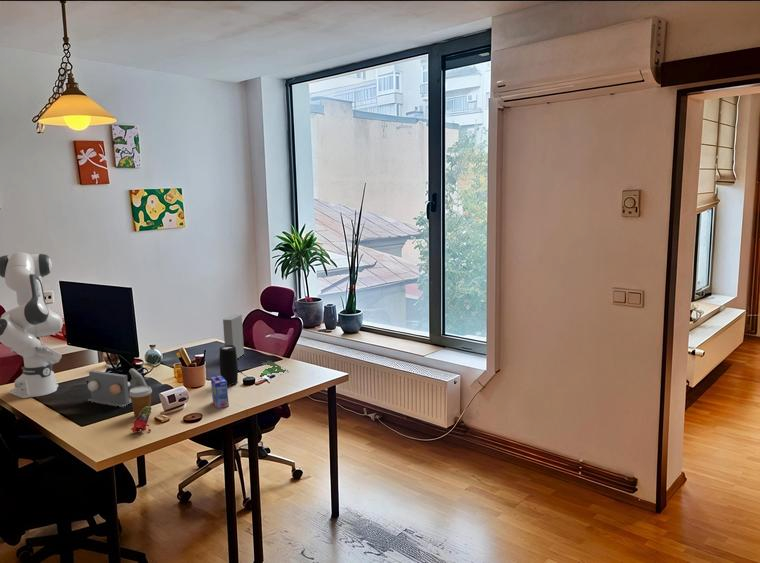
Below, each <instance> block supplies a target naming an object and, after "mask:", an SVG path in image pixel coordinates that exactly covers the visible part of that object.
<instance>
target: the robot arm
mask: <svg viewBox="0 0 760 563" xmlns="http://www.w3.org/2000/svg"><path fill="white" fill-rule="evenodd" d="M52 269H53V262H52V260H51V257H50V256H49V255H48V254H44V253H39V254H35V253H27V252H23V251H18V252H14V253H12V254H11V255H8V254H6V255H1V256H0V277H1V278H4V282H5V283H4V284H5V285H6V286H7V287H8V288H9V289H10V290H12V291H14V292H16V302H17V305H18V306H17V307H14V308H12V309H9V310H8V311H5V312H4V313H2V314H1V315H0V343H1V344H3V346H6V347H7V348H10V352H12V354H16V355H19V356H21V357H22V358H23V359H22V360H23V365H24V366H21V367H20V368H21V370H22V374H20V376H18V377H17V378H16V379H15V380H14V388H13V389H11V390H9V392H8V393H9V394H10V395H14V396H15V397H18V398H20V399H27V398H34V397H35V398H36V397H42V396H47V395H49V394H52V393H55V392H56V391H57V390H58V387H59V384H58V383H57V380H56V376H55V372H54V371H53V365H55V364H59V362H60V361H61V360H62V357H63V356H62V354H61V353H59V352H58V351H56V350H54V349H53V348H50V347H48V346H47V345H46V344H42V342H41V340H40V339H39V338H40V337H46V336H51V335H54V334H57V333H59V332H60V331H61V330H62V328H63V324H64V321H63V318H62V316H60V315H59V314H58V313H57V312H54V311H52V310H51V309H50V308H49V307H48V305H47V303H46V299H45V297H46V296H45V292H44V285H43V280H42V278H44V277H45V276H48V275H49V274H50V273H52V272H51V271H52Z"/></svg>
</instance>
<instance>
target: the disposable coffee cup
mask: <svg viewBox="0 0 760 563" xmlns="http://www.w3.org/2000/svg"><path fill="white" fill-rule="evenodd" d="M152 392H153V389H152V387H151V386H148V385H147V386H139V387H135V388H132V389H131V390H130V391H129V397H130V398H131V402H132V404H131V406H132V411H133V414H134V418H135V419H136V418H137V417H138V416H139V414H140V412H141V410H142V409H143V408H144V407H146V406H149V407H151V404H152ZM151 408H152V407H151Z"/></svg>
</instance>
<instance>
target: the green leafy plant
mask: <svg viewBox="0 0 760 563" xmlns="http://www.w3.org/2000/svg"><path fill="white" fill-rule="evenodd" d="M266 361H267V362H263V361H262V362H263V363H261V364H263V365H266V364H267V365H270V366H273V367H272V368H268V369H265V370H264V371H263V373H261V375H260V377H262V376H264V375H267V374H272V373H279V372H283V373H284V372H285V371H286V370H287V369H286V368H284V369H285V370H283V369H281V367H282V366H280V365H279V364H277V363H275V361H273V360H266ZM275 366H277V367H275ZM276 369H277V371H275V370H276ZM287 371H289V370H287Z"/></svg>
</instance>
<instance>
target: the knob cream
mask: <svg viewBox="0 0 760 563" xmlns="http://www.w3.org/2000/svg"><path fill="white" fill-rule="evenodd" d="M87 389H88V390H89V391H90V392H91V391H95V390H98V389H99V382H97V381H96V380H94V381H91V382H90V381H89V382H88V383H87Z"/></svg>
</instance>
